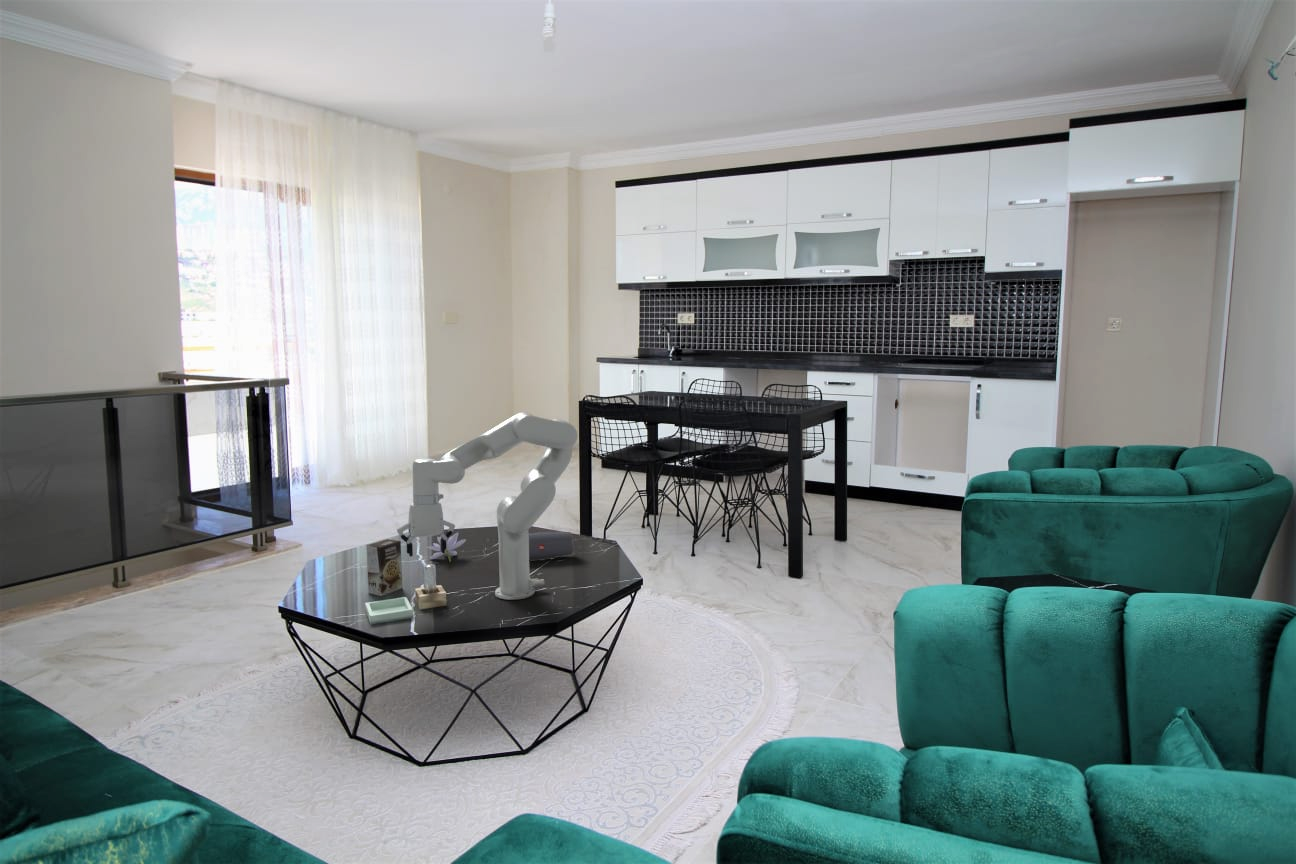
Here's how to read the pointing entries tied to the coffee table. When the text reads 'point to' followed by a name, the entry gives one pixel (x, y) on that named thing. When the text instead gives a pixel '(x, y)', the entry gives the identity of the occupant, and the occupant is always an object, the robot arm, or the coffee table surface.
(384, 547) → the brown cookie box
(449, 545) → the water lily
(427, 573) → the pin
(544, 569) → the coffee table surface
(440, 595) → the socket block
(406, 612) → the tray
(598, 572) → the coffee table surface
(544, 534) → the bluetooth speaker
